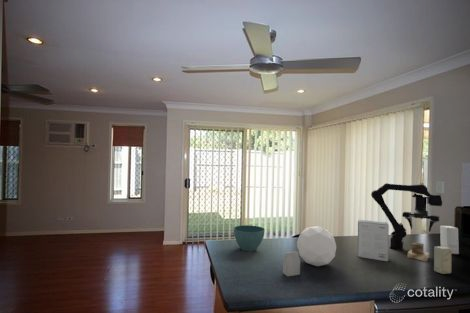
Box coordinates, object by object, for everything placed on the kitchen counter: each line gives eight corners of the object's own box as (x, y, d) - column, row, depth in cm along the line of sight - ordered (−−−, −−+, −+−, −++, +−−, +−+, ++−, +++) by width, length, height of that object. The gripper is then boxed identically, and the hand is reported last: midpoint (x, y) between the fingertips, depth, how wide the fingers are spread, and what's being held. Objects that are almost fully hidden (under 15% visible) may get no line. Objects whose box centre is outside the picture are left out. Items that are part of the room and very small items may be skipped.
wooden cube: (411, 252, 160) (412, 243, 160) (413, 250, 164) (413, 242, 164) (422, 254, 157) (422, 245, 157) (423, 252, 161) (423, 244, 161)
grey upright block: (299, 274, 129) (300, 252, 129) (287, 276, 126) (288, 254, 126) (294, 271, 132) (295, 250, 132) (282, 273, 129) (283, 251, 130)
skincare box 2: (442, 274, 135) (442, 248, 135) (433, 270, 139) (433, 246, 140) (451, 273, 137) (452, 248, 137) (442, 269, 141) (443, 245, 141)
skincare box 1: (459, 254, 168) (459, 228, 169) (446, 253, 170) (446, 227, 170) (451, 250, 176) (451, 225, 177) (439, 249, 178) (439, 224, 178)
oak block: (407, 258, 160) (407, 252, 160) (410, 254, 166) (410, 249, 167) (426, 262, 154) (426, 256, 154) (428, 258, 161) (428, 253, 161)
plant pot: (228, 251, 159) (228, 229, 159) (239, 243, 176) (240, 223, 176) (258, 256, 152) (259, 233, 153) (267, 247, 169) (268, 227, 169)
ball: (304, 276, 144) (284, 240, 152) (333, 258, 151) (312, 225, 159) (321, 270, 128) (297, 230, 136) (352, 251, 135) (327, 214, 143)
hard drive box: (387, 257, 157) (388, 222, 158) (388, 262, 150) (389, 224, 151) (357, 253, 164) (358, 219, 165) (357, 256, 157) (357, 221, 158)
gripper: (400, 204, 172) (400, 229, 172) (437, 208, 160) (437, 235, 159) (404, 202, 181) (404, 227, 180) (440, 206, 168) (439, 232, 168)
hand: (420, 230), depth 172 cm, fingers open, 9 cm apart
